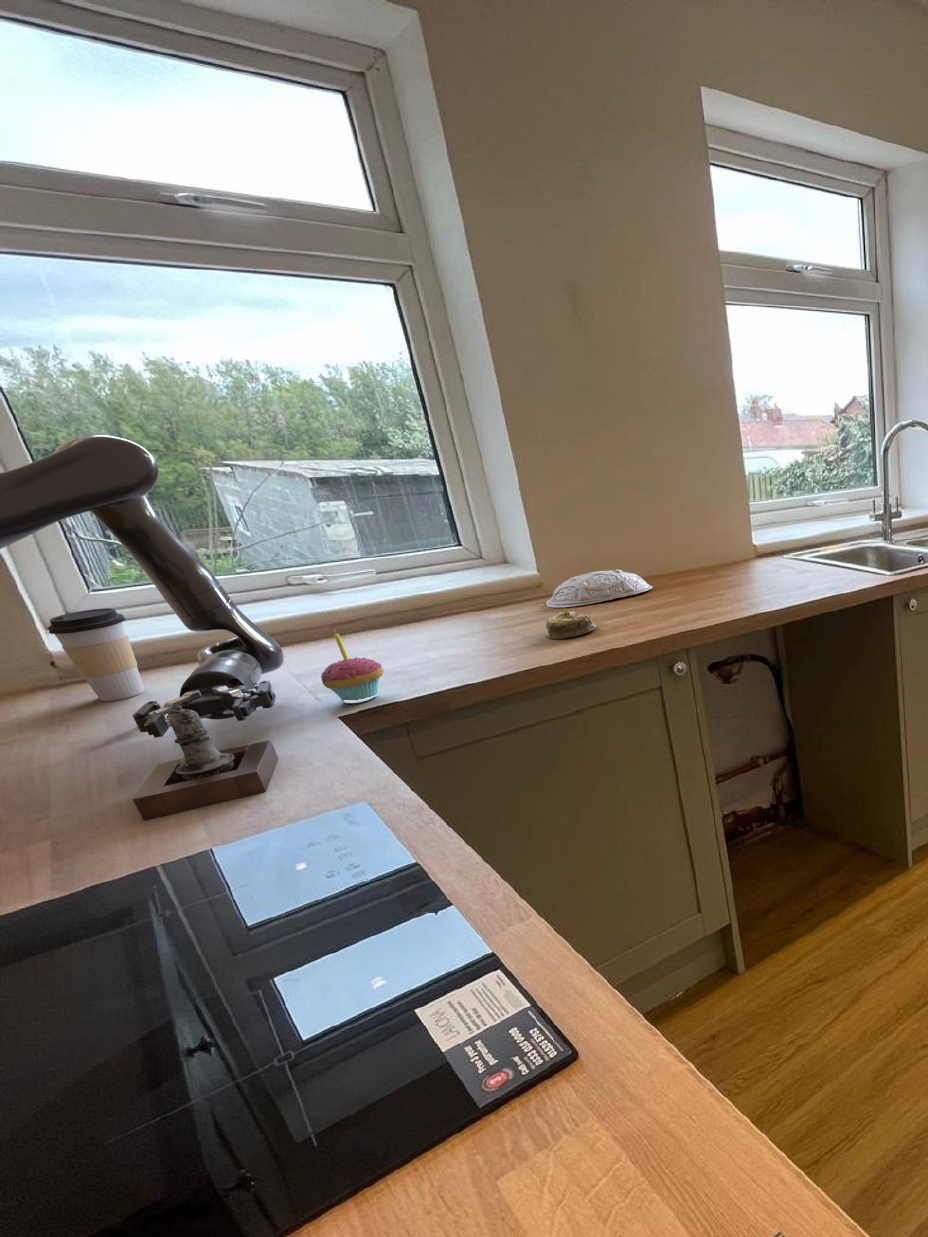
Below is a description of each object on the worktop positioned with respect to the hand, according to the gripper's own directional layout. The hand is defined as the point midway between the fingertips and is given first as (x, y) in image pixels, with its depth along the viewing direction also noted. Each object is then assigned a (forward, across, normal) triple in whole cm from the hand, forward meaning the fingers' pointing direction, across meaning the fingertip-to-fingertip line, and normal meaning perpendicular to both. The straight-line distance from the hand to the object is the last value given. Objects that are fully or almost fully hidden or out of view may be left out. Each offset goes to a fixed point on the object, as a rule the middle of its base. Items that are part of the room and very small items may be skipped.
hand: (197, 722), depth 103 cm
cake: (-41, +51, +8) cm, 66 cm away
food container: (-70, +62, +8) cm, 94 cm away
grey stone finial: (+4, 0, +8) cm, 9 cm away
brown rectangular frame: (+4, 0, +8) cm, 9 cm away
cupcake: (-23, +15, +8) cm, 28 cm away
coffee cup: (-54, -22, +8) cm, 59 cm away
